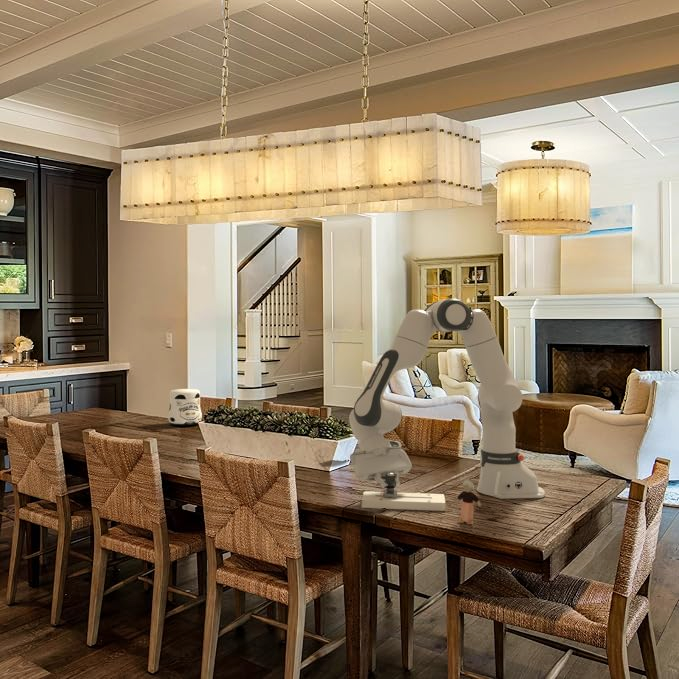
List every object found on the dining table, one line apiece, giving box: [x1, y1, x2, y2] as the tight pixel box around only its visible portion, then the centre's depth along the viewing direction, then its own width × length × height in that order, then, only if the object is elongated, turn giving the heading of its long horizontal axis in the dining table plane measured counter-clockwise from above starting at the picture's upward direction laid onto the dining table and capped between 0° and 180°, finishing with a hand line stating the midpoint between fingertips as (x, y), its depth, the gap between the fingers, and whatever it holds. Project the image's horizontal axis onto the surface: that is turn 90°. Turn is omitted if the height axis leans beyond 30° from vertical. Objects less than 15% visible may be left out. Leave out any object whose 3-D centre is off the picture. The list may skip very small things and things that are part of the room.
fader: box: [382, 472, 398, 497], centre depth 221 cm, size 4×4×7 cm
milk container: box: [167, 388, 203, 427], centre depth 363 cm, size 17×17×18 cm
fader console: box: [361, 490, 446, 512], centre depth 221 cm, size 26×10×3 cm, turn 84°
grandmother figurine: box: [455, 479, 482, 525], centre depth 203 cm, size 8×4×13 cm, turn 69°
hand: (391, 486), depth 220 cm, fingers closed on fader, 3 cm apart
